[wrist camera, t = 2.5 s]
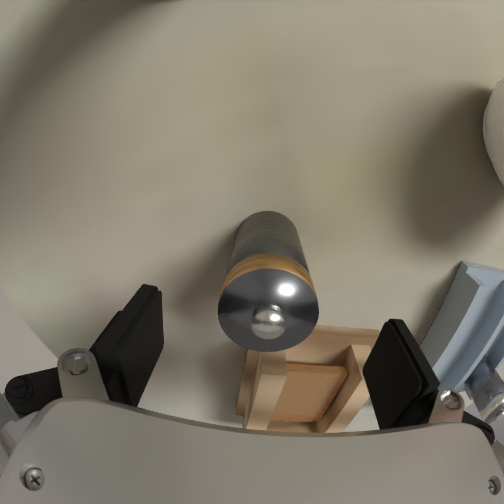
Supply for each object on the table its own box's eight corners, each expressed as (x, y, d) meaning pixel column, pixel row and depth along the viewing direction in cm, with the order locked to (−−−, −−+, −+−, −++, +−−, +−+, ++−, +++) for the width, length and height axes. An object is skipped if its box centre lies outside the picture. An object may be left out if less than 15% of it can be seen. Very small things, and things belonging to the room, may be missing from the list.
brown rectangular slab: (286, 362, 18) (286, 371, 18) (345, 366, 18) (347, 374, 18) (268, 412, 21) (268, 419, 20) (317, 414, 21) (318, 421, 21)
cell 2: (471, 352, 20) (504, 408, 12) (490, 350, 20) (521, 399, 12) (453, 378, 21) (480, 432, 14) (472, 374, 21) (499, 424, 14)
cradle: (253, 318, 19) (250, 364, 15) (378, 330, 20) (396, 370, 16) (236, 407, 24) (232, 444, 20) (330, 412, 25) (336, 447, 20)
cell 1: (240, 206, 16) (218, 272, 9) (304, 216, 16) (335, 288, 9) (232, 264, 18) (211, 355, 10) (291, 272, 18) (306, 366, 10)
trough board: (461, 260, 17) (482, 279, 14) (528, 276, 17) (544, 290, 14) (386, 395, 23) (394, 417, 21) (463, 385, 24) (472, 401, 21)
